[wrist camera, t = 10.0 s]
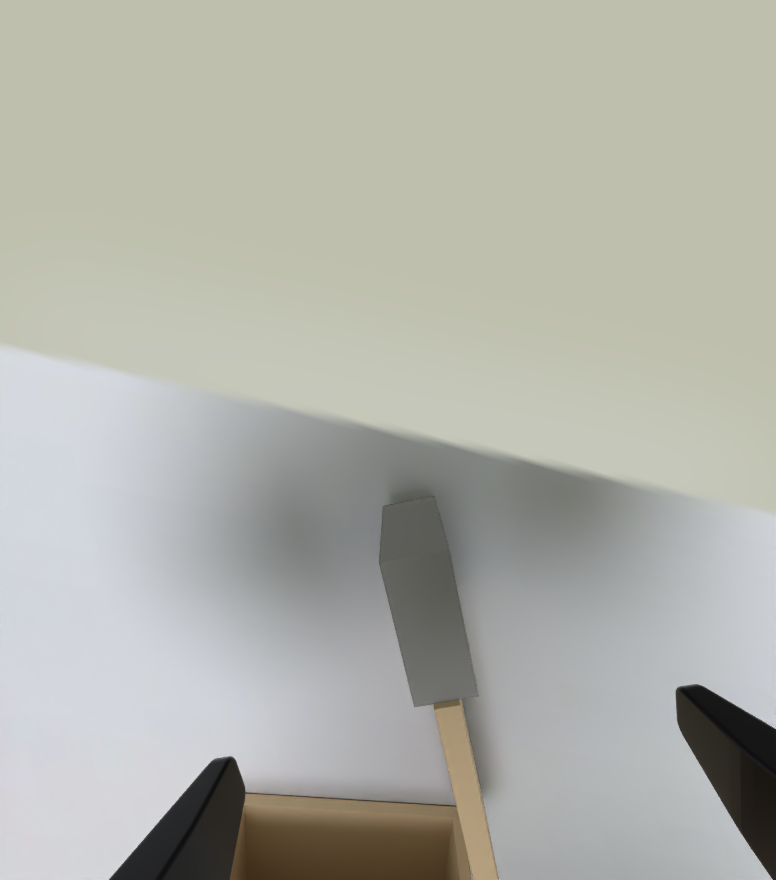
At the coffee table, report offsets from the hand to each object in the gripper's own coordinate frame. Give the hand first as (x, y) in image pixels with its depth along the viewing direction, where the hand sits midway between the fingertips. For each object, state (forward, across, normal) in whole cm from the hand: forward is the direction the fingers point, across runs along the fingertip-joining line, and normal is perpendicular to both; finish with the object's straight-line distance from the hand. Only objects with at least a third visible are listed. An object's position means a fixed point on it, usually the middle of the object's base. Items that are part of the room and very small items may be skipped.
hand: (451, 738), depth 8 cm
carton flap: (+9, 0, +6) cm, 11 cm away
